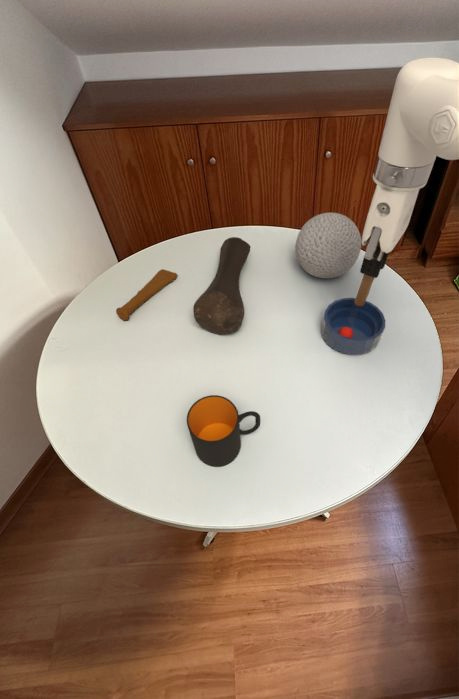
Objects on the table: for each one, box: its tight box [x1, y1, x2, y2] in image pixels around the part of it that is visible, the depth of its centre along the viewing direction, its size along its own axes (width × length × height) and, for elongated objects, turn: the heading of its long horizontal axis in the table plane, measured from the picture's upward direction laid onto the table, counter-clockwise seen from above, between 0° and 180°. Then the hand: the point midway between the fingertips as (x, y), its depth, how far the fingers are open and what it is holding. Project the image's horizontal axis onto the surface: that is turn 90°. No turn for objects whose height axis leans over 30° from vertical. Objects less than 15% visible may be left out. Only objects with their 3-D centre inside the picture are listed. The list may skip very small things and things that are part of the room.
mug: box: [186, 394, 261, 468], centre depth 62 cm, size 8×12×10 cm
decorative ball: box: [295, 212, 362, 279], centre depth 87 cm, size 15×15×15 cm
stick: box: [354, 248, 380, 306], centre depth 68 cm, size 2×2×14 cm
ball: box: [338, 327, 353, 338], centre depth 77 cm, size 3×3×3 cm
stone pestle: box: [193, 236, 251, 335], centre depth 87 cm, size 11×10×28 cm
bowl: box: [320, 297, 386, 356], centre depth 78 cm, size 12×12×5 cm
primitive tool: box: [115, 268, 179, 322], centre depth 90 cm, size 19×6×4 cm, turn 152°
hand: (371, 269), depth 67 cm, fingers closed on stick, 2 cm apart
